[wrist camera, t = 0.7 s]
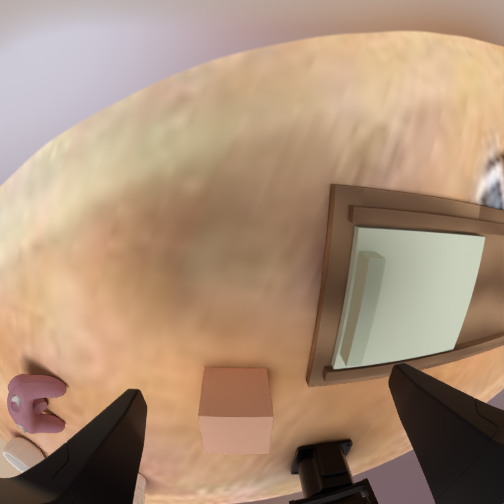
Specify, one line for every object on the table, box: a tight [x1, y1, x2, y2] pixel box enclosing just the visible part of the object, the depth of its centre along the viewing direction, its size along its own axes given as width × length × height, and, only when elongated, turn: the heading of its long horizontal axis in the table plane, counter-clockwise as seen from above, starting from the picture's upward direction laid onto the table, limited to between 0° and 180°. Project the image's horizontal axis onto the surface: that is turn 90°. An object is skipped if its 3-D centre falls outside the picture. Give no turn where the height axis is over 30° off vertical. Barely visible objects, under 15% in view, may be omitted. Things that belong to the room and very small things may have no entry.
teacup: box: [2, 437, 45, 473], centre depth 24 cm, size 10×8×5 cm
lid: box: [331, 226, 485, 369], centre depth 18 cm, size 11×13×2 cm
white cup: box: [133, 473, 147, 504], centre depth 22 cm, size 8×8×10 cm
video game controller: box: [7, 374, 66, 434], centre depth 20 cm, size 10×5×7 cm, turn 152°
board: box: [306, 184, 504, 387], centre depth 20 cm, size 16×28×2 cm, turn 88°
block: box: [198, 367, 274, 454], centre depth 20 cm, size 5×5×6 cm
